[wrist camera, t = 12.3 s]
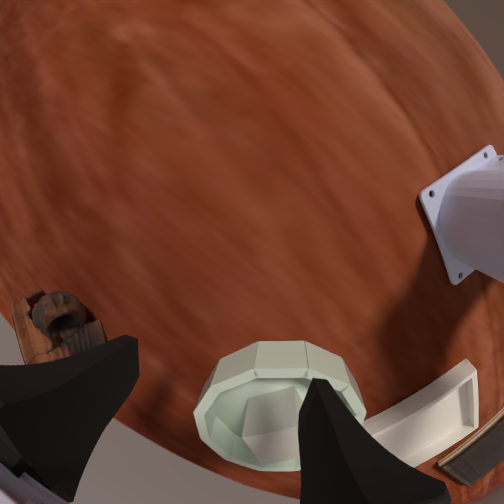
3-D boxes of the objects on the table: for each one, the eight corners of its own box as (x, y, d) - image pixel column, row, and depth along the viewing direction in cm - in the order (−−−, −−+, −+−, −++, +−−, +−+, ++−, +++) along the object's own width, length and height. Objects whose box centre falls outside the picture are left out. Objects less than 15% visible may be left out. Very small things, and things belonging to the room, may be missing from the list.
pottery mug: (104, 382, 24) (39, 403, 17) (72, 311, 27) (12, 322, 20) (127, 328, 18) (24, 354, 11) (86, 237, 21) (3, 244, 15)
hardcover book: (519, 385, 19) (526, 393, 17) (524, 429, 21) (528, 435, 19) (435, 459, 23) (439, 470, 21) (463, 481, 25) (466, 488, 23)
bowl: (314, 311, 19) (321, 335, 16) (373, 412, 21) (382, 438, 17) (176, 377, 21) (163, 402, 18) (256, 456, 23) (253, 481, 20)
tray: (465, 358, 19) (476, 369, 16) (471, 416, 20) (478, 426, 18) (342, 430, 21) (345, 446, 19) (373, 471, 23) (376, 484, 21)
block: (309, 415, 20) (312, 454, 16) (266, 426, 21) (263, 464, 17) (294, 385, 20) (296, 426, 15) (248, 397, 20) (241, 438, 16)
